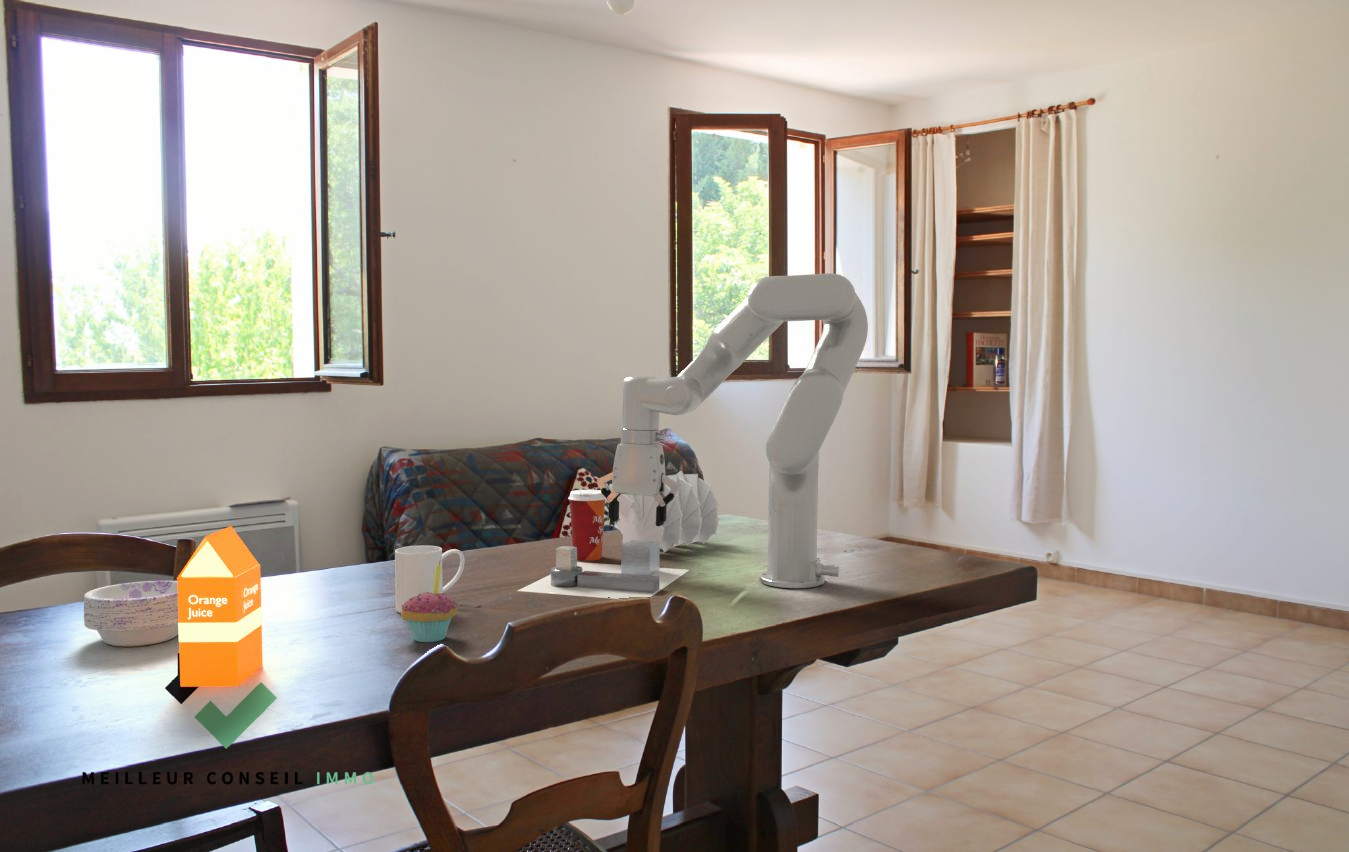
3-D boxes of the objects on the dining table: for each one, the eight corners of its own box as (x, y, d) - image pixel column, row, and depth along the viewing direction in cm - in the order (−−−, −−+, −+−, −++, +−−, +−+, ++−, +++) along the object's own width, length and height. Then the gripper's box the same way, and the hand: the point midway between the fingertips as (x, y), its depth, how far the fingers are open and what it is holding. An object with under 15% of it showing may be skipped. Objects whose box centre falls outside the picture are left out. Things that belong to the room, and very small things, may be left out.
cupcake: (435, 628, 161) (434, 554, 160) (469, 637, 156) (468, 561, 155) (390, 639, 154) (388, 562, 154) (423, 649, 149) (422, 570, 148)
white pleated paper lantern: (713, 561, 236) (639, 572, 217) (664, 521, 246) (590, 529, 228) (742, 495, 230) (669, 500, 211) (691, 457, 240) (617, 459, 222)
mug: (404, 617, 168) (403, 555, 167) (389, 607, 174) (388, 548, 173) (473, 607, 174) (472, 548, 174) (455, 598, 181) (455, 541, 180)
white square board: (689, 572, 204) (689, 569, 204) (644, 604, 177) (644, 601, 177) (576, 564, 211) (576, 561, 211) (516, 594, 185) (516, 590, 185)
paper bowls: (180, 621, 165) (179, 573, 164) (209, 640, 154) (208, 589, 153) (74, 637, 155) (73, 587, 154) (97, 659, 144) (95, 605, 143)
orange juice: (263, 666, 141) (260, 525, 140) (238, 686, 132) (234, 536, 131) (207, 666, 141) (203, 525, 139) (178, 686, 132) (174, 536, 131)
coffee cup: (604, 564, 212) (604, 494, 211) (566, 564, 212) (565, 494, 211) (608, 556, 220) (608, 489, 219) (571, 556, 220) (570, 488, 219)
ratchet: (545, 586, 188) (545, 549, 188) (558, 579, 194) (558, 544, 194) (651, 594, 182) (651, 556, 182) (661, 587, 188) (661, 550, 187)
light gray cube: (659, 570, 203) (659, 541, 202) (649, 576, 197) (649, 546, 197) (631, 569, 204) (631, 539, 204) (621, 574, 199) (621, 545, 198)
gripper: (686, 439, 200) (683, 524, 201) (606, 434, 205) (603, 517, 206) (675, 442, 193) (672, 529, 194) (592, 437, 198) (589, 522, 199)
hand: (636, 523), depth 200 cm, fingers open, 9 cm apart
